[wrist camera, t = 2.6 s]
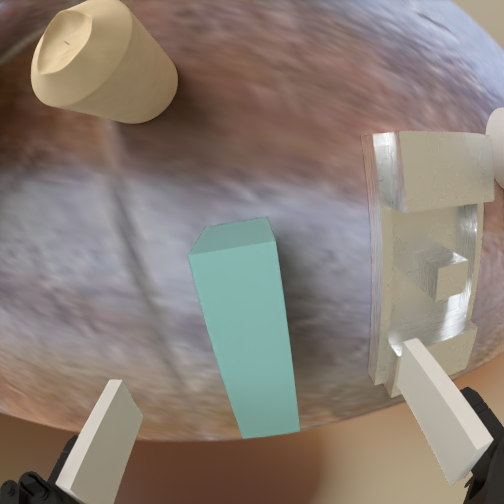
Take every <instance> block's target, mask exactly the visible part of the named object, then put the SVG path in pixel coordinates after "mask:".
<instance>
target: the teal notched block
mask: <svg viewBox="0 0 504 504" xmlns="http://www.w3.org/2000/svg"><path fill="white" fill-rule="evenodd" d="M188 259H189V263H190V267H191V271H192V275H193V279H194V283H195V287H196V290H197V294H198V298H199V302H200V305H201V309H202V313H203V316H204V320H205V323H206V327H207V330H208V334H209V337H210V340H211V344H212V347H213V350H214V354H215V357H216V360H217V363H218V367H219V370H220V373H221V376H222V379H223V382H224V385H225V388H226V391H227V394H228V397H229V400H230V403H231V406H232V409H233V412H234V415H235V418H236V420H237V423H238V426H239V429H240V432H241V434H242V437H243V439H244V438H255V437H264V436H272V435H280V434H286V433H293V432H299V431H300V426H299V417H298V407H297V398H296V390H295V381H294V373H293V364H292V356H291V348H290V340H289V333H288V325H287V317H286V310H285V302H284V295H283V288H282V281H281V274H280V267H279V260H278V253H277V247H276V240H275V238H274V235H273V232H272V229H271V226H270V223H269V220H268V217H261V218H255V219H249V220H244V221H238V222H232V223H226V224H221V225H215V226H209V227H205V228H204V230H203V232H202V233H201V235H200V236H199V238H198V240H197V241H196V243H195V244H194V246H193V248H192V249H191V251H190V252H189V254H188Z"/></svg>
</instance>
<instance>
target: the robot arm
mask: <svg viewBox="0 0 504 504" xmlns="http://www.w3.org/2000/svg"><path fill="white" fill-rule="evenodd" d="M396 385H397V386H398V388H399V390H400V392H401V393H402V395H403V397H404V399H405V400H406V402H407V404H408V406H409V408H410V409H411V411H412V413H413V415H414V417H415V419H416V421H417V422H418V424H419V426H420V428H421V430H422V432H423V434H424V436H425V437H426V439H427V441H428V443H429V445H430V447H431V449H432V451H433V453H434V455H435V457H436V459H437V461H438V463H439V465H440V467H441V469H442V471H443V473H444V476H445V477H446V480H447V482H448V484H449V486H450V485H452V484H454V483H456V482H458V481H459V480H461V479H463V478H465V477H466V476H467V474H468V473H469V472H470V471H471V472H472V473H473V476H472V477H471V478H470V480H469V481H468V482H467V483H466V485H465V488H466V487H467V486H468V485H469V484H470V485H469V488H468V491H467V494H466V497H465V500H464V503H463V504H504V427H503V426H502V424H501V423H500V422H499V420H498V419H497V417H496V416H495V415H494V414H493V412H492V411H491V409H490V408H488V406H487V404H486V403H485V402H484V401H483V399H482V398H481V396H480V395H479V394H478V393H477V392H476V391H474V390H472V389H471V388H469V387H466V388H464V389H462V390H460V391H459V390H458V388H457V387H456V386H455V384H454V383H453V382H452V380H451V379H450V378H449V377H448V375H447V374H446V373H445V371H444V370H443V369H442V368H441V366H440V365H439V364H438V363H437V361H436V360H435V359H434V358H433V356H432V355H431V354H430V353H429V351H428V350H427V349H426V348H425V346H424V345H423V344H422V343H421V342H420V340H419V339H418V338H414V339H411V340H408V341H405V342H403V348H402V355H401V361H400V367H399V373H398V379H397V384H396ZM142 420H143V415H142V414H141V412H140V410H139V409H138V407H137V405H136V403H135V402H134V400H133V398H132V396H131V395H130V393H129V391H128V389H127V387H126V386H125V384H124V382H123V380H109V382H108V384H107V385H106V387H105V389H104V391H103V393H102V394H101V396H100V398H99V400H98V401H97V403H96V405H95V407H94V409H93V411H92V412H91V414H90V416H89V418H88V420H87V422H86V424H85V425H84V427H83V429H82V431H81V433H80V435H79V436H76V435H74V436H73V437H72V438H71V439H70V440H69V441H68V442H67V444H66V446H65V448H64V450H63V452H62V453H61V455H60V459H58V461H57V463H56V465H55V467H54V469H53V471H52V473H51V475H50V477H49V479H48V481H47V482H46V481H44V480H43V479H42V478H41V477H40V476H39V475H38V474H37V473H35V472H32V471H31V472H26V473H24V474H23V475H22V476H21V477H20V479H19V482H18V484H17V483H16V482H15V481H13V480H8V481H6V482H4V483H3V485H2V486H1V489H0V504H113V503H114V500H115V497H116V494H117V491H118V488H119V485H120V482H121V479H122V476H123V473H124V470H125V467H126V464H127V461H128V459H129V456H130V453H131V450H132V447H133V444H134V442H135V439H136V436H137V433H138V431H139V428H140V425H141V422H142Z"/></svg>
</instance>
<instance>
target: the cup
mask: <svg viewBox="0 0 504 504" xmlns="http://www.w3.org/2000/svg"><path fill="white" fill-rule="evenodd" d="M486 134H488V135H491V144H492V154H493V169H494V178H495V180H496V181H497V183H498V184H499V185H500V186H501V187H502V188H503V189H504V107H503V108H497V109H496V110H494V111H493V112H492V114H491V115H490V117H489V120H488V123H487V128H486Z"/></svg>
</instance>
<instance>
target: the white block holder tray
mask: <svg viewBox="0 0 504 504" xmlns="http://www.w3.org/2000/svg"><path fill="white" fill-rule="evenodd" d="M361 143H362V150H363V157H364V165H365V173H366V183H367V193H368V204H369V218H370V235H371V264H372V302H371V331H370V347H369V361H368V374H369V376H370V377H371V379H372V381H373V383H374V385H378V384H382V383H383V385H384V386H385V388H386V390H387V392H388V394H389V396H390V398H392V397H395V396H398V395H401V394H402V393H401V392H400V390H399V388H398V386H397V385H396V384H397V379H398V373H399V367H400V361H401V355H402V348H403V342H405V341H408V340H411V339H414V338H418V339H419V340H420V342H421V343H422V344H423V345H424V346H425V348H426V349H427V350H428V351H429V353H430V354H431V355H432V356H433V358H434V359H435V360H436V361H437V363H438V364H439V365H440V366H441V368H442V369H443V370H444V371H445V373H446V374H447V375H448V376H450V375H452V374H455V373H457V372H459V371H461V370H463V369H465V368H466V367H467V364H468V361H469V358H470V355H471V352H472V348H473V345H474V341H475V338H476V334H477V330H478V326H477V325H476V324H475V323H474V322H473V321H472V320H471V316H472V311H473V306H474V301H475V295H476V289H477V283H478V276H479V268H480V259H481V249H482V236H483V214H484V202H491V201H494V169H493V154H492V144H491V135H488V134H477V133H463V132H442V131H396V132H389V133H378V134H368V135H363V136H361Z"/></svg>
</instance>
